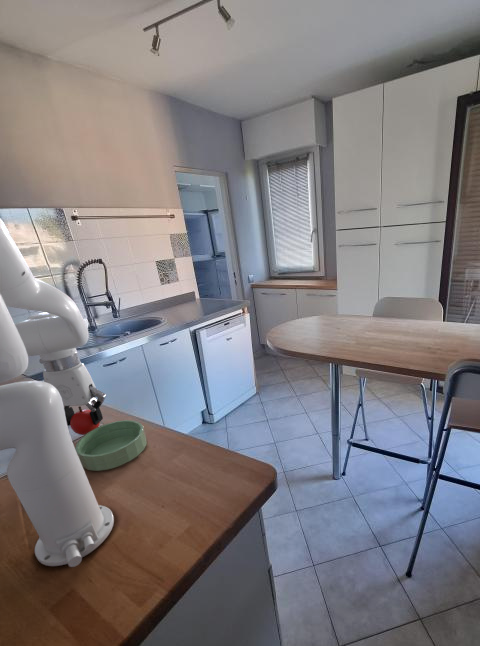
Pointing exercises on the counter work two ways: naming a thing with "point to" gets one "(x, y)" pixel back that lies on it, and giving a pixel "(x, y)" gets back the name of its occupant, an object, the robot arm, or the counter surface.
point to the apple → (82, 422)
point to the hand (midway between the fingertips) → (85, 421)
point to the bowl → (111, 445)
